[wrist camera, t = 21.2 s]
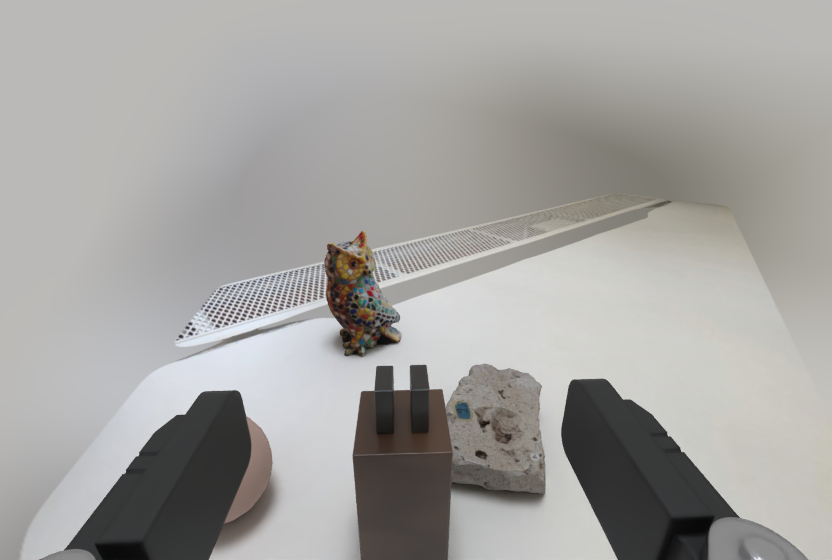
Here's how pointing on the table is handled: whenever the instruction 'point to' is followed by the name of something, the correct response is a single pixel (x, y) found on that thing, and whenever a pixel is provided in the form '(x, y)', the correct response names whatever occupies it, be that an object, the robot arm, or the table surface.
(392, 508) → the knife block
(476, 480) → the stone
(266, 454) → the egg
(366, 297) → the figurine
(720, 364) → the table surface
